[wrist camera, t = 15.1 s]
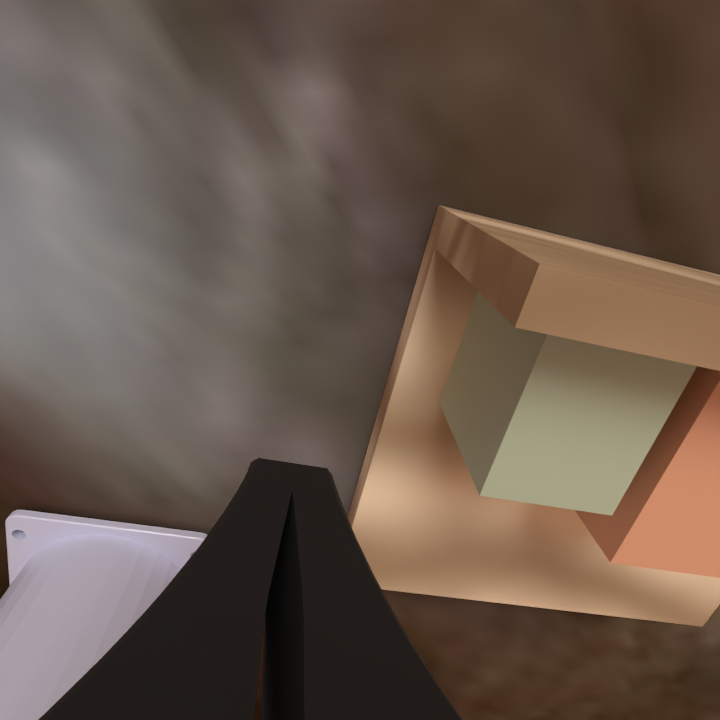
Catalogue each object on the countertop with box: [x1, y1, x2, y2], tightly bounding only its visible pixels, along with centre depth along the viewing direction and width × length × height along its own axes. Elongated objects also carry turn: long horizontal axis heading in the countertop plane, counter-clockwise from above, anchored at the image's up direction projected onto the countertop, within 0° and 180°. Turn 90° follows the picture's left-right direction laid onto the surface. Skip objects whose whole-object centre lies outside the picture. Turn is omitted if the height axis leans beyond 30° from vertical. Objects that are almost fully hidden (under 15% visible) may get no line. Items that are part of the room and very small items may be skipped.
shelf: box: [347, 205, 720, 626], centre depth 17 cm, size 16×18×8 cm
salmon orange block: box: [575, 366, 720, 578], centre depth 16 cm, size 7×4×5 cm, turn 167°
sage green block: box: [439, 291, 697, 516], centre depth 15 cm, size 5×4×5 cm
